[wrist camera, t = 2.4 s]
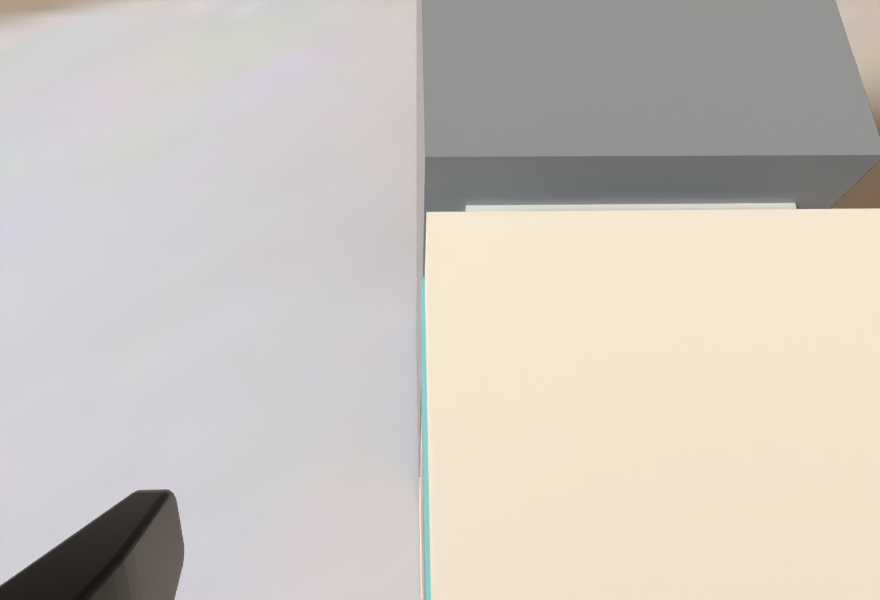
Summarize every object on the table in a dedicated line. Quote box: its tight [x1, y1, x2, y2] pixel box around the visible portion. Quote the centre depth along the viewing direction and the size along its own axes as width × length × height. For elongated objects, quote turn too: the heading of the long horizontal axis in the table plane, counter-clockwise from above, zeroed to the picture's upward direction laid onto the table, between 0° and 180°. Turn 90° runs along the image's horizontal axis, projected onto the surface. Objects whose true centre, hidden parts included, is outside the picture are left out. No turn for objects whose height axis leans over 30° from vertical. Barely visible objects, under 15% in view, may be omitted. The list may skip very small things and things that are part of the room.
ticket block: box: [417, 0, 880, 477], centre depth 11 cm, size 4×3×12 cm
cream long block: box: [419, 209, 880, 600], centre depth 9 cm, size 4×3×12 cm
